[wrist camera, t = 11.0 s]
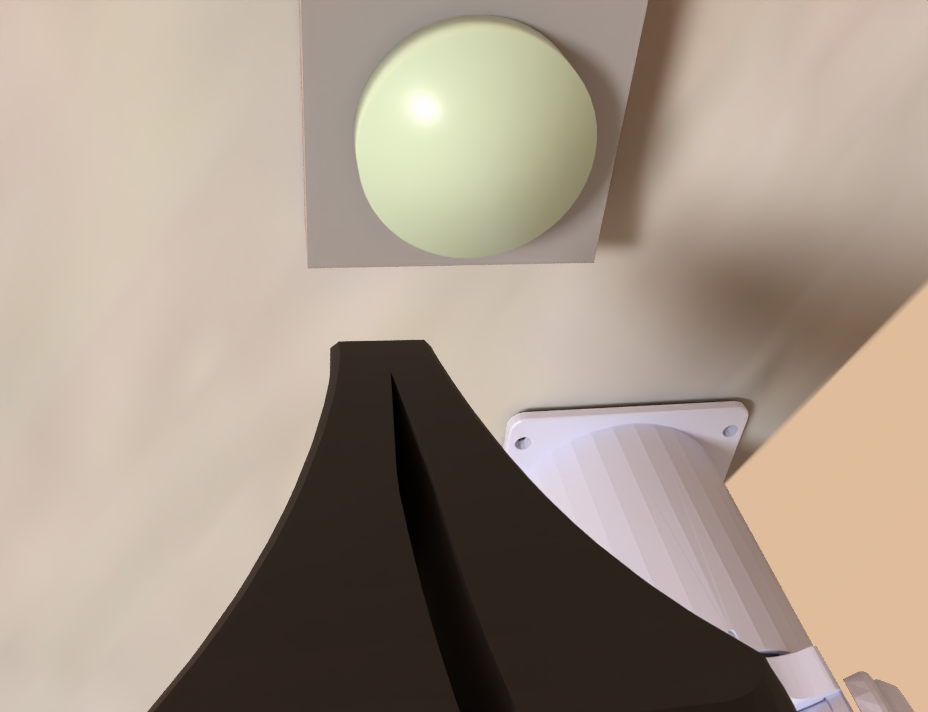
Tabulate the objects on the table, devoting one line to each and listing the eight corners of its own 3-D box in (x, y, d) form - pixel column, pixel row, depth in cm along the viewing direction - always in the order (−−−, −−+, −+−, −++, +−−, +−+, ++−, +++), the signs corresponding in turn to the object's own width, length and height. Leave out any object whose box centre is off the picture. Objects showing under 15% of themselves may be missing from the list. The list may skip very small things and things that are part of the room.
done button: (545, 197, 22) (575, 256, 20) (347, 198, 21) (356, 260, 19) (578, -9, 19) (617, 35, 17) (348, -18, 18) (359, 26, 16)
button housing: (572, 222, 23) (593, 262, 22) (305, 225, 22) (308, 268, 21) (624, -61, 19) (655, -36, 18) (297, -79, 18) (300, -53, 16)
